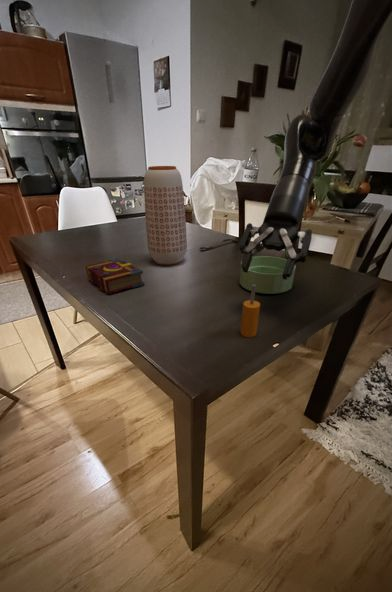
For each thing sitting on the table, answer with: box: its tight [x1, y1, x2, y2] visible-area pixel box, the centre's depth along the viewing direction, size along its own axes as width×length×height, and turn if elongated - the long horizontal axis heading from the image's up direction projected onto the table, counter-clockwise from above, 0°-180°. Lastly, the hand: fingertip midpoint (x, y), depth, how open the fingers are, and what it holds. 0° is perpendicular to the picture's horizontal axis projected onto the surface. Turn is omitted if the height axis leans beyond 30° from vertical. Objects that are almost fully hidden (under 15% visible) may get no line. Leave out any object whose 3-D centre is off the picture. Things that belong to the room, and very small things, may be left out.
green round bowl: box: [238, 255, 297, 295], centre depth 80 cm, size 15×15×6 cm
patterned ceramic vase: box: [143, 165, 188, 267], centre depth 91 cm, size 13×13×28 cm
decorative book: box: [85, 257, 145, 295], centre depth 83 cm, size 11×16×5 cm
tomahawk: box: [199, 238, 239, 250], centre depth 115 cm, size 21×7×1 cm, turn 132°
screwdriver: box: [240, 285, 261, 338], centre depth 58 cm, size 3×3×11 cm
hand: (264, 274), depth 59 cm, fingers open, 8 cm apart
